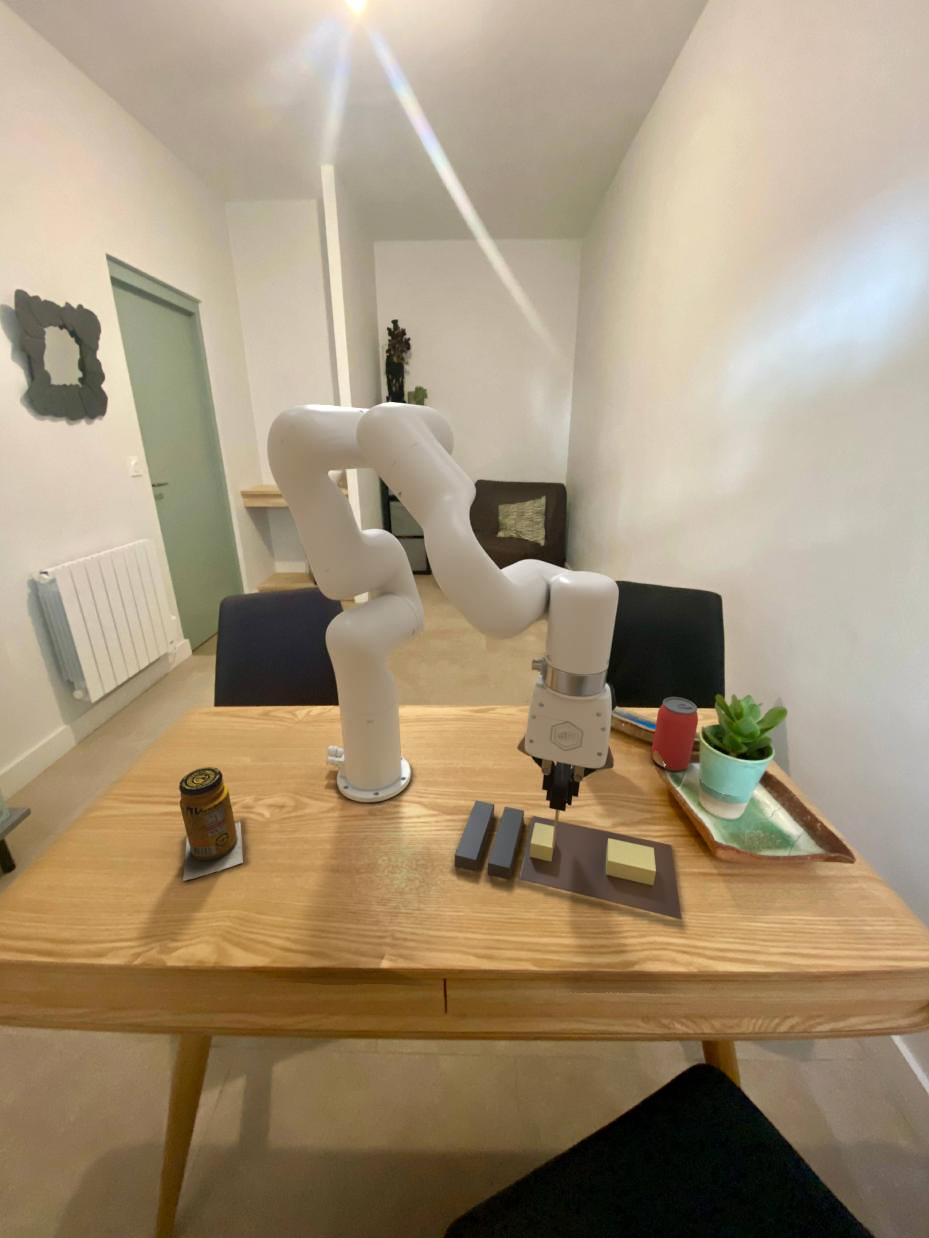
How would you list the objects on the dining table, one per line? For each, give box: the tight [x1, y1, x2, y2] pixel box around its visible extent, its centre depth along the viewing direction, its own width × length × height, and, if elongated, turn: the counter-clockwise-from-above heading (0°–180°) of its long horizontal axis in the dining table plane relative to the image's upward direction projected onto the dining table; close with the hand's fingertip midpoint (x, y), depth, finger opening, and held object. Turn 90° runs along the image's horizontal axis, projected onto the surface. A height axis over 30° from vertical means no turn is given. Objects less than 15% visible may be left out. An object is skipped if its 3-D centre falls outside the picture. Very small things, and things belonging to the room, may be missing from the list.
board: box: [519, 815, 682, 920], centre depth 67 cm, size 20×12×1 cm, turn 74°
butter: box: [606, 838, 656, 885], centre depth 65 cm, size 6×4×2 cm, turn 74°
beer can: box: [650, 696, 699, 772], centre depth 87 cm, size 7×7×12 cm
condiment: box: [178, 766, 244, 882], centre depth 67 cm, size 7×8×12 cm
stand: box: [454, 800, 525, 881], centre depth 69 cm, size 8×11×3 cm
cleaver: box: [548, 761, 572, 847], centre depth 65 cm, size 2×10×8 cm, turn 164°
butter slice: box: [530, 822, 554, 862], centre depth 68 cm, size 3×4×2 cm
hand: (559, 795), depth 65 cm, fingers closed on cleaver, 2 cm apart
